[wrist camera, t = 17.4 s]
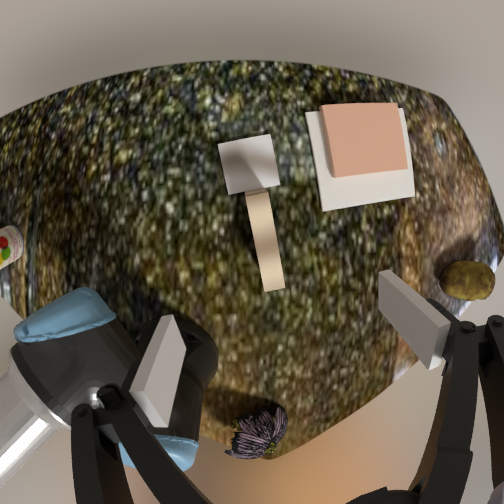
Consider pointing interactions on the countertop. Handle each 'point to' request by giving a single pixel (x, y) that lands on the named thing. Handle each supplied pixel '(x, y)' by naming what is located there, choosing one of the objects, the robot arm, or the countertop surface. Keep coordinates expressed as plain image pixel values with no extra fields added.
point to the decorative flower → (258, 433)
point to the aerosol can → (10, 245)
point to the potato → (467, 280)
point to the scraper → (256, 197)
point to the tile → (363, 138)
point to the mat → (356, 186)
